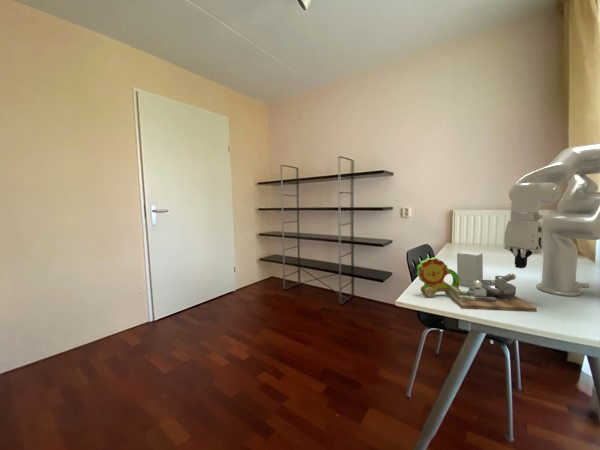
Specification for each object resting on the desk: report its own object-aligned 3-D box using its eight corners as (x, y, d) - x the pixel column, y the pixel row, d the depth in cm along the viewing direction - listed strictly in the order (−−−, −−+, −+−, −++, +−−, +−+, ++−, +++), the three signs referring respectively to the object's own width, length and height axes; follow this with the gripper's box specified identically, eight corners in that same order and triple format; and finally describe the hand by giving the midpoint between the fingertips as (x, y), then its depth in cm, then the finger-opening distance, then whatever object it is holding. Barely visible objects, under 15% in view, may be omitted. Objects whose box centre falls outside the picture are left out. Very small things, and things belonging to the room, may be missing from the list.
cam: (526, 300, 89) (527, 279, 88) (482, 296, 94) (482, 276, 93) (510, 289, 101) (511, 270, 100) (472, 286, 105) (472, 268, 104)
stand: (507, 295, 99) (508, 283, 99) (536, 311, 85) (537, 298, 84) (444, 293, 103) (445, 282, 103) (461, 308, 89) (462, 295, 88)
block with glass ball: (480, 295, 96) (480, 278, 95) (486, 299, 92) (486, 282, 92) (468, 295, 97) (469, 278, 96) (474, 299, 93) (474, 281, 92)
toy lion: (453, 293, 103) (454, 256, 103) (461, 298, 98) (462, 259, 97) (414, 293, 104) (415, 256, 103) (420, 297, 99) (420, 258, 98)
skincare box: (483, 286, 110) (484, 253, 109) (476, 289, 107) (478, 254, 105) (462, 281, 117) (463, 250, 116) (455, 284, 114) (456, 251, 112)
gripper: (557, 218, 85) (552, 271, 86) (507, 216, 99) (504, 262, 100) (544, 218, 82) (539, 273, 84) (494, 216, 96) (491, 264, 97)
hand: (520, 267), depth 92 cm, fingers closed
